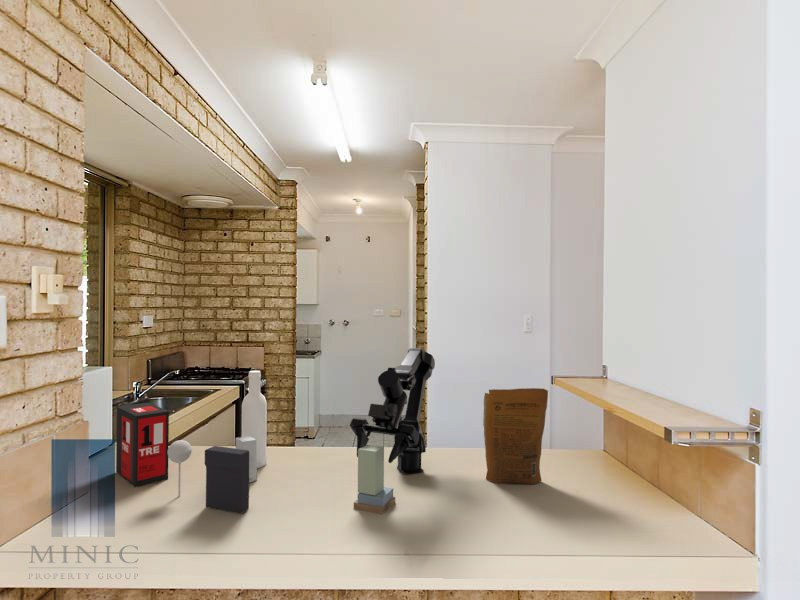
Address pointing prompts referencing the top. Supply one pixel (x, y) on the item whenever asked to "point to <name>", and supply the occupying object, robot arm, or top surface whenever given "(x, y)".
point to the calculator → (227, 479)
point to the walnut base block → (374, 508)
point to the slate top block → (376, 497)
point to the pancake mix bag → (514, 434)
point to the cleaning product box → (142, 443)
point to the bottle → (255, 417)
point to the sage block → (370, 469)
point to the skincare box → (249, 445)
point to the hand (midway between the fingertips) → (373, 459)
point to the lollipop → (179, 454)
